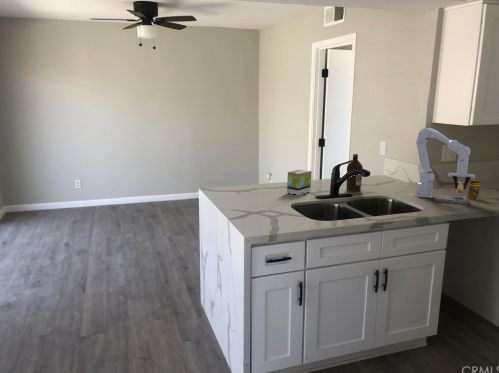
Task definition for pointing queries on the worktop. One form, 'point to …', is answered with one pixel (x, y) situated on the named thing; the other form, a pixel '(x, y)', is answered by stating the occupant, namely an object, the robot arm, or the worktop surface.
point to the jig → (452, 199)
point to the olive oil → (355, 181)
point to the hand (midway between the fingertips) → (460, 188)
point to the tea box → (299, 182)
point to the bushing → (460, 187)
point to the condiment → (473, 189)
